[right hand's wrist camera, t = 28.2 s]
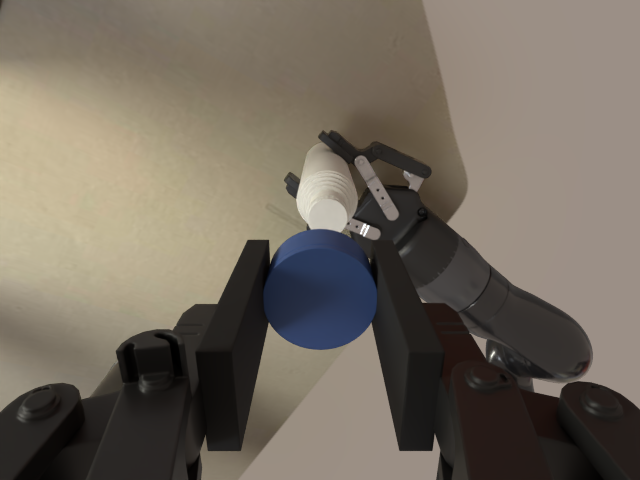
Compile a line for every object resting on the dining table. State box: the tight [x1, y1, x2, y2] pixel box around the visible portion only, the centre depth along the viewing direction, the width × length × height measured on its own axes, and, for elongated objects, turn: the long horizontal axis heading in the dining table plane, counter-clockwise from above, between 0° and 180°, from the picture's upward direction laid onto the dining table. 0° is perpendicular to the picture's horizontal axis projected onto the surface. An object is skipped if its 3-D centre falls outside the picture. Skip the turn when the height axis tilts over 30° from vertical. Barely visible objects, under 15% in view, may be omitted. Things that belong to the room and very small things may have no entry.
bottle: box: [297, 142, 358, 233], centre depth 35 cm, size 4×4×21 cm
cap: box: [263, 229, 377, 350], centre depth 14 cm, size 4×4×2 cm
